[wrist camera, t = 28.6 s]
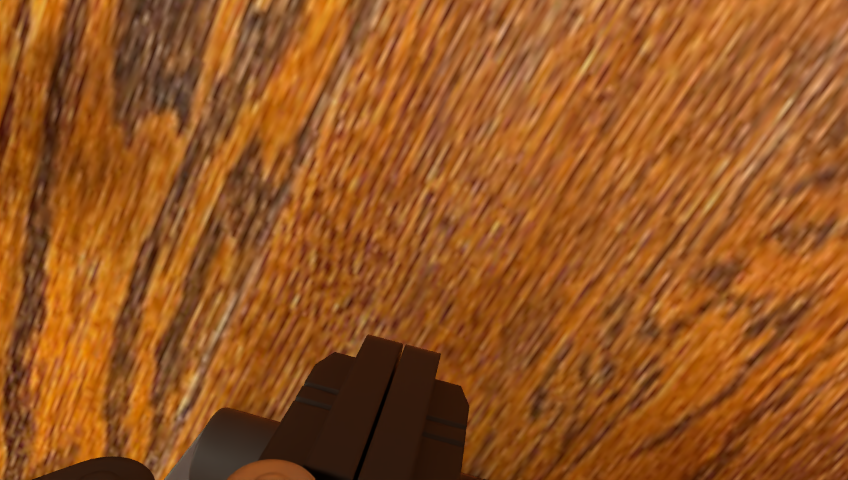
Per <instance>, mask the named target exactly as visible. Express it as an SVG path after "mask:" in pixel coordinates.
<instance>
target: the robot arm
mask: <svg viewBox="0 0 848 480" xmlns="http://www.w3.org/2000/svg"><path fill="white" fill-rule="evenodd" d="M402 348H403V344H402V343H398V342H395V341H391V340H387V339H384V338H380V337H376V336H372V335H369V334H368V335H367V336H366V338H365V340H364V342H363V344H362V346H361V348H360V350H359V352H358V354H357V356H356V358H355V357H351V356H348V355H344V354H340V353H337V352H334V353H333V354H331V355H329V356H328V357H326V358H325V359H323V360H322V361H320V362H318V363H317V364H315V366H314V368H313V369H312V371H311V373H310V374H309V376H308V378H307V379H306V381H305V384H304V386H302V388H301V389H300V391H299V393H298V394H297V396H296V399H295V401H293V403H292V404H291V406H290V408H289V409H288V411H287V413H286V414H285V416H284V418H283V419H282V421H281V423H280V424H279V426H278V428H277V429H276V431H275V433H274V434H273V436H272V438H271V439H270V441H269V443H268V444H267V446H266V448H265V449H264V451H263V453H262V454H261V456H260V458H259V459H258V461H256V462H252V463H250V464H247V465H245V466H243V467H241V468H239V469H238V470H236V471H235V472H234V473H233V474H231V475H230V476H229V477H228V478H227V480H460V475H461V467H462V459H463V452H464V444H465V436H466V427H467V420H468V413H469V404H468V402H467V399H466V397H465V395H464V392H463V390H462V387H461V386H459V385H455V384H451V383H448V382H444V381H440V380H437V379H435V377H436V373H437V368H438V364H439V360H440V355H441V354H440V353H436V352H433V351H429V350H425V349H421V348H418V347H414V346H410V345H405V348H404V350H403V353H402ZM401 353H402V356H401ZM400 357H401V359H400ZM32 480H155V479H154V476H153V474H152V473H151V472H150V470H149V469H148V468H147V467H146V466H144V465H143V464H141V463H139V462H138V461H135V460H132V459H129V458H124V457H101V458H95V459H90V460H87V461H84V462H80V463H78V464H75V465H72V466H69V467H66V468H64V469H61V470H58V471H55V472H52V473H49V474H47V475H44V476H41V477H38V478H35V479H32Z"/></svg>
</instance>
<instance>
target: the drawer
mask: <svg viewBox="0 0 848 480" xmlns="http://www.w3.org/2000/svg"><path fill="white" fill-rule="evenodd" d="M280 423H281V422H277V421H273V420H270V419H266V418H263V417H259V416H255V415H252V414H248V413H245V412H241V411H238V410H234V409H230V408H222V409H220V410H218V411H217V412H216V413H215V414H214V415H213V416H212V418H211V419H210V421H209V422H208V424H207V425H206V427H205V428H204V429H203V431H202V432H201V433H200V434H199V436H198V437H197V438H196V440H195V441H194V442H193V443H192V445H191V446H190V447H189V448H188V450H187V451H186V452H185V454H184V455H183V456H182V457H181V459H180V460H179V461H178V463H177V464H176V465H175V466H174V468H173V469H172V470H171V471H170V473H169V474H168V475H167V477H166V478H165V479H164V480H227V478H228V477H229V476H230V475H231V474H233V473H234V472H235V471H236V470H238V469H239V468H241V467H243V466H245V465H247V464H250V463H252V462H256V461H258V459H259V458H260V456H261V454H262V453H263V451H264V449H265V448H266V446H267V444H268V443H269V441H270V439H271V438H272V436H273V434H274V433H275V431H276V429H277V428H278V426H279V424H280ZM460 480H485V479H481V478H478V477H474V476H471V475H467V474H463V473H461V475H460Z"/></svg>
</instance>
